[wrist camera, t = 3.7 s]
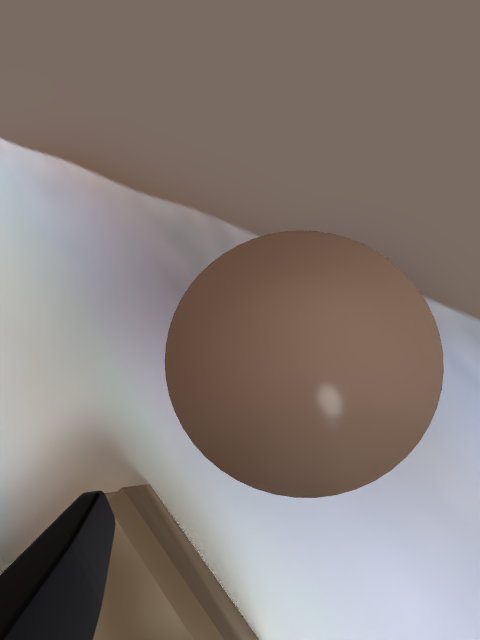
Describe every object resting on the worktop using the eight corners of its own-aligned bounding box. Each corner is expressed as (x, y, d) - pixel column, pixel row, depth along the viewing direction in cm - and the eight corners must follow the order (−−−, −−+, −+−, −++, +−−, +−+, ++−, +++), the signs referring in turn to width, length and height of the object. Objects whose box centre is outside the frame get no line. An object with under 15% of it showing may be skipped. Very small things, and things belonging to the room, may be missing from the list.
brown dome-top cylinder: (294, 501, 17) (293, 570, 6) (225, 418, 18) (114, 343, 7) (371, 426, 17) (508, 353, 6) (297, 352, 19) (300, 188, 8)
